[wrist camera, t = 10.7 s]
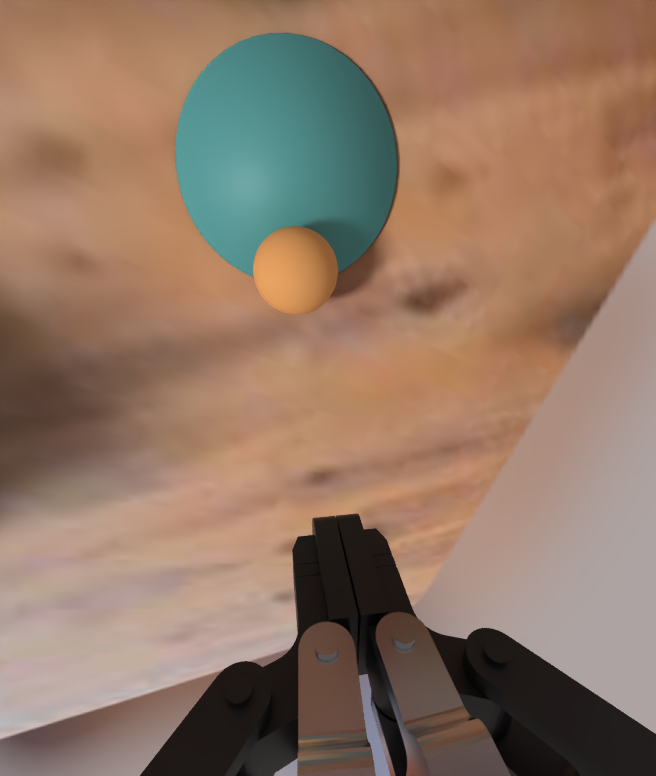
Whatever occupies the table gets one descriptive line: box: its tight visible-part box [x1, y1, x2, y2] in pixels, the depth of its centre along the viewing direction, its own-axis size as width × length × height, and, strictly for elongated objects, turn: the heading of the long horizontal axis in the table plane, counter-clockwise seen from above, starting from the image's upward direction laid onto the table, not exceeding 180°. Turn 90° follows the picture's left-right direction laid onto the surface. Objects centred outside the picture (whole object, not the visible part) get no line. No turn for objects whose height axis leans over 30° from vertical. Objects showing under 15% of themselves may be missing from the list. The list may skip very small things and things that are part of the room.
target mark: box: [175, 33, 397, 277], centre depth 24 cm, size 13×13×1 cm
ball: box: [253, 226, 338, 314], centre depth 24 cm, size 5×5×5 cm
